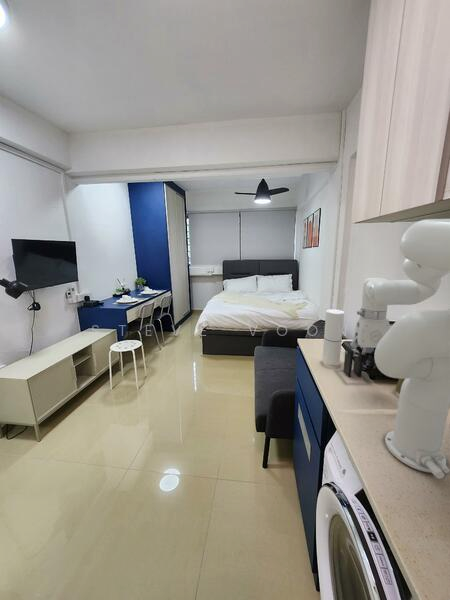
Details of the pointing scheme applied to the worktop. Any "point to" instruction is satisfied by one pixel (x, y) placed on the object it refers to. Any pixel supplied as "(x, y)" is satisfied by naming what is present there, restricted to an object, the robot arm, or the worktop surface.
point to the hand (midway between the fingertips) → (368, 363)
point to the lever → (369, 355)
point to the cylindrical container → (333, 336)
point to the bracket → (348, 363)
